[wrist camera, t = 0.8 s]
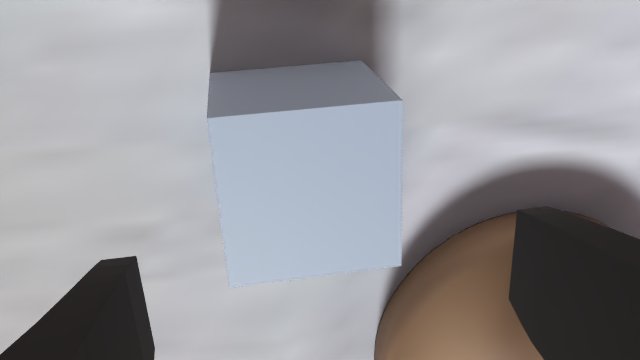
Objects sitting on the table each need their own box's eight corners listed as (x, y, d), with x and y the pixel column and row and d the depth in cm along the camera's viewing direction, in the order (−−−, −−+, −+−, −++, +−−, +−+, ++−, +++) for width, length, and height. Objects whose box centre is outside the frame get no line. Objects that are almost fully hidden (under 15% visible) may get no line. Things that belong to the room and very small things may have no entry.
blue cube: (361, 59, 18) (402, 99, 14) (363, 194, 20) (401, 266, 16) (209, 72, 17) (206, 118, 13) (227, 210, 19) (229, 288, 15)
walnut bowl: (670, 193, 21) (711, 219, 20) (621, 421, 26) (652, 459, 24) (372, 229, 20) (387, 259, 18) (375, 462, 25) (388, 506, 23)
